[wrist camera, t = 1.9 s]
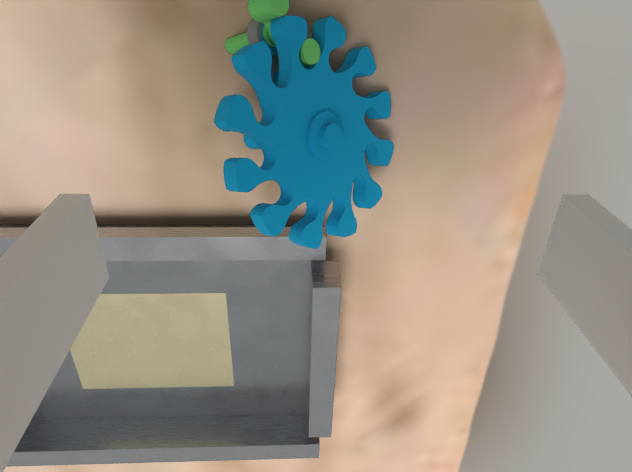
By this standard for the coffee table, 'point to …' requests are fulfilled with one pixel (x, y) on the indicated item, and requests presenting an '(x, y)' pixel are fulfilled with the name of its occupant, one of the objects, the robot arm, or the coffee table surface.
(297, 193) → the gear
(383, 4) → the coffee table surface
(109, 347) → the gray metal tray
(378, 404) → the coffee table surface
